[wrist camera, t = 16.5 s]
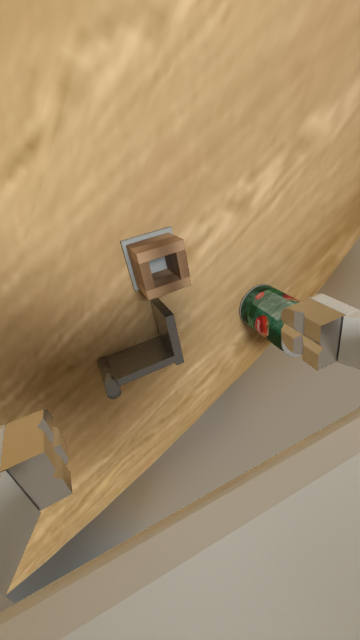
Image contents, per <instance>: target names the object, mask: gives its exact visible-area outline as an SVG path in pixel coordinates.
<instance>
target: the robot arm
mask: <svg viewBox="0 0 360 640" xmlns="http://www.w3.org/2000/svg"><path fill="white" fill-rule="evenodd" d="M281 320H282V321H283V322H284V325H283V327H282V329H281V338H282V341H283V343H284V345H285V346H286V347H287V349H288V350H290V351H291V352H292V353H294V354H299V355H302V359H303V361H305V362H306V363H307V364H309V365H310V366H312V367H313V368H314V369H316V370H317V371H318V370H320V369H322V368H324V367H326V366H328V365H331V364H333V363H335V362H337V361H338V363H341V364H344V365H347V366H351V367H354V368H357V369H360V309H359V310H358V309H356V308H354V307H352V306H349V305H347V304H345V303H342V302H339V301H338V300H335V299H333V298H331V297H329V296H326V295H324V294H316V295H313V296H311V297H309V298H307V299H306V300H303V301H301V302H298V303H296V304H294V305H291V306H289V307H287V308H284V309H283V310H282V313H281ZM68 459H69V457H68V450H67V446H66V443H65V440H64V437H63V435H62V433H61V431H60V429H59V428H58V427H54V426H53V419H52V416H51V415H50V413H49V412H48V410H47V409H45V408H44V409H42V410H39V411H37V412H34V413H32V414H29V415H27V416H24V417H21V418H19V419H16V420H14V421H11V422H9V423H7V424H4V425H2V426H0V640H360V407H359V408H358V409H356V410H354V411H352V412H351V413H349V414H347V415H345V416H344V417H342V418H340V419H338V420H337V421H335V422H333V423H331V424H330V425H328V426H326V427H324V428H323V429H321V430H319V431H317V432H316V433H314V434H312V435H310V436H309V437H307V438H305V439H303V440H302V441H300V442H298V443H297V444H295V445H293V446H291V447H289V448H288V449H286V450H284V451H282V452H281V453H279V454H277V455H275V456H274V457H272V458H270V459H268V460H267V461H265V462H263V463H261V464H260V465H258V466H256V467H254V468H253V469H251V470H249V471H247V472H246V473H244V474H242V475H240V476H238V477H237V478H235V479H233V480H231V481H230V482H228V483H226V484H224V485H223V486H221V487H219V488H217V489H216V490H214V491H212V492H210V493H209V494H207V495H205V496H203V497H202V498H200V499H198V500H197V501H195V502H193V503H191V504H189V505H188V506H186V507H184V508H182V509H181V510H179V511H177V512H175V513H174V514H172V515H170V516H168V517H167V518H165V519H163V520H161V521H160V522H158V523H156V524H154V525H152V526H151V527H149V528H148V529H145V530H144V531H142V532H140V533H138V534H137V535H135V536H133V537H131V538H130V539H128V540H126V541H124V542H123V543H121V544H119V545H117V546H116V547H114V548H112V549H111V550H109V551H107V552H105V553H103V554H102V555H100V556H98V557H96V558H95V559H93V560H91V561H89V562H87V563H86V564H84V565H82V566H81V567H79V568H77V569H75V570H74V571H72V572H70V573H68V574H67V575H65V576H63V577H61V578H59V579H58V580H56V581H54V582H52V583H51V584H49V585H47V586H45V587H44V588H42V589H40V590H39V591H37V592H35V593H33V594H31V595H30V596H28V597H26V598H24V599H23V600H21V601H19V602H17V603H16V604H14V603H13V602H11V601H10V600H8V599H7V598H6V597H5V596H6V593H7V591H8V589H9V586H10V584H11V582H12V579H13V577H14V575H15V572H16V570H17V567H18V565H19V563H20V560H21V558H22V556H23V553H24V551H25V549H26V546H27V544H28V542H29V539H30V537H31V534H32V532H33V530H34V527H35V525H36V523H37V520H38V518H39V516H40V513H41V512H40V511H41V510H43V509H45V508H46V507H48V506H50V505H52V504H54V503H56V502H58V501H60V500H61V499H63V498H65V497H67V496H69V495H71V494H72V485H71V475H70V471H69V470H68V468H67V466H66V463H67V461H68Z"/></svg>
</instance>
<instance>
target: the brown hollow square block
mask: <svg viewBox="0 0 360 640" xmlns="http://www.w3.org/2000/svg"><path fill="white" fill-rule="evenodd" d="M126 248H127V252H128V255H129V259H130V263H131V266H132V270H133V273H134V277H135V281H136V284H137V287H138V288H139V290H140V291H141V292H142V293H143V294H144V296H145V297H146V298H147V299H148V300H150V299H153V298H156V297H159V296H162V295H165V294H167V293H170V292H173V291H176V290H179V289H181V288H184V287H187V286H190V285H191V280H190V274H189V268H188V263H187V257H186V251H185V245H184V240H183V239H181V238H179V237H177V236H175V235H173V234H171V233H169V232H168V233H164V234H161V235H158V236H154V237H151V238H148V239H144V240H141V241H138V242H134V243H131V244H127V245H126ZM163 256H165V261H166V265H167V269H164V270H161V271H158V272H155V273H151V269H150V265H149V261H151V260H154V259H157V258H160V257H163Z"/></svg>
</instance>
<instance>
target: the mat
mask: <svg viewBox="0 0 360 640" xmlns="http://www.w3.org/2000/svg"><path fill="white" fill-rule="evenodd" d="M168 232H169V233H171V234H173V233H172V228H171V227H166V228H163V229H160V230H156V231H153V232H149V233H146V234H143V235H139V236H136V237H132V238H129V239H126V240H122V241H120V242H121V246H122V249H123V253H124V256H125V260H126V263H127V267H128V270H129V274H130V277H131V281H132V284H133V288H134V290H135V291H137V290H139V288H138V287H137V284H136V281H135V277H134V273H133V270H132V266H131V263H130V259H129V255H128V252H127V248H126V245H127V244H131V243H134V242H138V241H141V240H144V239H148V238H151V237H154V236H158V235H161V234H164V233H168ZM149 265H150V269H151V273H155V272H158V271H161V270H164V269H167V265H166V261H165V256H163V257H160V258H157V259H154V260H151V261H149Z"/></svg>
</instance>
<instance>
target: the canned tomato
mask: <svg viewBox="0 0 360 640" xmlns="http://www.w3.org/2000/svg"><path fill="white" fill-rule="evenodd" d="M298 302H301V301H299V300H297V299H295V298H293V297H291V296H289V295H287V294H285V293H283V292H281V291H279V290H277V289H275V288H273V287H272V286H270V285H267V284H261V285H257V286H255V287H253V288H252V289H250V290H249V291H248V292H247V293H246V295H245V296H244V298H243V299H242V301H241V304H240V310H239V313H240V317H241V319H242V321H243V322H244V323H245V324H247V325H249V326H250V327H251V328H252V329H254V330H255V331H256V332H258V333H259V334H260V335H262V336H263V337H265V338H266V339H267V340H269V341H270V342H271V343H273V344H274V345H275V346H277V347H278V348H279V349H281V350H282V351H284V352H285V353H286V354H287V355H289V356H299V354H294V353H292V352H291V351H290V350H288V349H287V347H286V346H285V345H284V343H283V341H282V338H281V329H282V327H283V325H284V322H283V321H282V320H281V313H282V310H283V309H284V308H287V307H289V306H291V305H294V304H296V303H298Z"/></svg>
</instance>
